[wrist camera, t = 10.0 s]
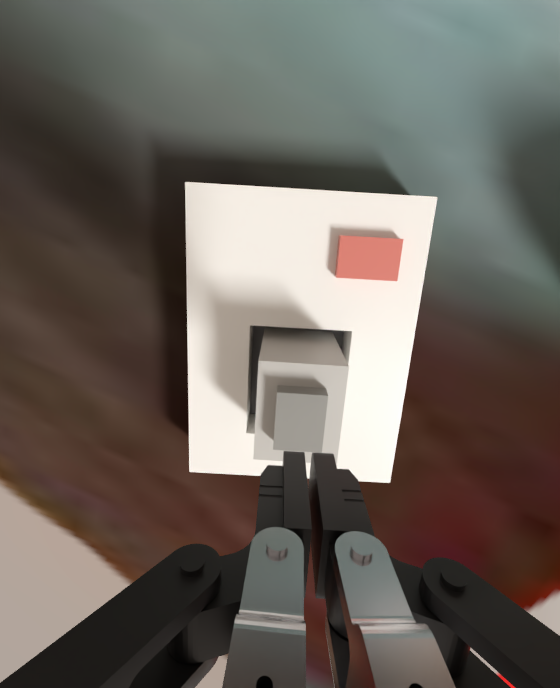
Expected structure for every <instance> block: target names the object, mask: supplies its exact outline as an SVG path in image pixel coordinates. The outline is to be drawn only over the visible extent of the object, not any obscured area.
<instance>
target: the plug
mask: <svg viewBox="0 0 560 688" xmlns="http://www.w3.org/2000/svg"><path fill="white" fill-rule="evenodd" d="M348 371H349V365H348V363H347V361H346V359H345V357H344V355H343V353H342V351H341V349H340V347H339V345H338V343H337V341H336V339H335V337H334V334H333V332H329V331H314V330H299V329H284V328H269V327H265V329H264V335H263V340H262V345H261V350H260V355H259V360H258V379H257V398H256V417H255V436H254V455H253V459H256V460H272V461H283V452H284V451H295V452H304V453H305V463H311V456H312V452H314V453H332V454H334V457H335V462H336V465H337V458H338V450H339V442H340V435H341V427H342V419H343V411H344V403H345V395H346V387H347V379H348Z"/></svg>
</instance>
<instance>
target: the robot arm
mask: <svg viewBox="0 0 560 688" xmlns="http://www.w3.org/2000/svg"><path fill="white" fill-rule="evenodd" d="M310 542H311V548H312V560H313V571H314V582H315V594H316V598H324V599H326V607H327V614H326V622H325V630H326V636H327V643H328V649H329V655H330V662H331V668H332V674H333V680H334V687H335V688H511V687H509V686H508V685H507V684H506V683H505V682H504V681H503V680H502V679H501V678H500V677H498V676H497V675H496V674H495V673H494V672H493V671H492V670H490V668H488V667H487V666H486V665H485V664H484V663H483V662H482V661H481V660H480V659H479V658H477V657H476V656H475V655H474V654H473V653H472V652H471V651H470V647H471V648H472V649H473V650H474V651H476V652H477V653H478V654H479V655H480V656H481V657H482V658H483V659H484V660H486V661H487V662H488V663H489V664H490V665H491V666H492V667H493V668H495V669H496V670H497V671H498V672H499V673H500V674H501V675H502V676H503V677H504V678H506V679H507V680H508V681H509V682H510V683H511V684H512V685H513V686H514V687H516V688H560V636H559V635H558V634H556V633H555V632H553V631H552V630H551V629H549V628H548V627H547V626H545V625H544V624H543V623H541V622H540V621H539V620H537V619H536V618H535V617H533V616H532V615H530V614H529V613H528V612H526V611H525V610H524V609H522V608H521V607H520V606H518V605H517V604H516V603H514V602H513V601H512V600H510V599H509V598H507V597H506V596H505V595H503V594H502V593H501V592H499V591H498V590H497V589H495V588H494V587H493V586H491V585H490V584H488V583H487V582H486V581H484V580H483V579H482V578H480V577H479V576H478V575H476V574H475V573H474V572H472V571H471V570H470V569H468V568H467V567H465V566H464V565H462V564H460V563H458V562H456V561H454V560H451V559H447V558H433V559H430V560H428V561H427V562H426V563H425V564H424V566H423V569H421V568H418V567H415V566H412V565H409V564H406V563H403V562H401V561H398V560H396V559H394V558H393V557H391V556H390V555H389V554H388V552H387V550H386V548H385V546H384V545H383V544H382V543H381V542H380V541H379V540H378V539H377V538H375V536H374V532H373V529H372V526H371V522H370V519H369V516H368V512H367V509H366V506H365V502H364V499H363V496H362V493H361V489H360V486H359V482H358V479H357V478H356V477H355V476H354V475H353V474H352V472H351V471H350V470H349V469H337V466H336V462H335V457H334V454H332V453H314V452H312V456H311V466H310V477H309V488H308V484H307V473H306V463H305V453H304V452H295V451H284V452H283V465H282V466H277V465H268V466H267V467H266V468H265V469H264V471H263V472H262V473H261V478H260V489H259V500H258V511H257V521H256V531H255V535H254V538H253V540H252V541H251V542H250V544H249V545H248V546H246V547H245V548H244V549H242V550H240V551H238V552H236V553H233V554H229V555H225V556H219V554H218V553H217V552H216V551H215V550H214V549H213V548H211V547H209V546H207V545H203V544H190V545H186V546H183V547H181V548H179V549H177V550H176V551H174V552H173V553H172V554H170V555H169V556H168V557H166V558H165V559H164V560H162V561H161V562H160V563H158V564H157V565H156V566H154V567H153V568H152V569H150V570H149V571H148V572H146V573H145V574H144V575H142V576H141V577H140V578H139V579H137V580H136V581H135V582H133V583H132V584H131V585H129V586H128V587H127V588H125V589H124V590H123V591H121V592H120V593H119V594H117V595H116V596H115V597H114V598H112V599H111V600H109V601H108V602H107V603H105V604H104V605H103V606H101V607H100V608H99V609H97V610H96V611H95V612H93V613H92V614H91V615H90V616H88V617H87V618H86V619H84V620H83V621H82V622H80V623H79V624H78V625H76V626H75V627H74V628H72V629H71V630H70V631H68V632H67V633H66V634H64V635H63V636H62V637H61V638H59V639H58V640H56V641H55V642H54V643H52V644H51V645H50V646H49V647H47V648H46V649H44V650H43V651H42V652H41V653H39V654H38V655H37V656H35V657H34V658H33V659H31V660H30V661H29V662H27V663H26V664H25V665H23V666H22V667H21V668H19V669H18V670H17V671H16V672H14V673H13V674H11V675H10V676H9V677H7V678H6V679H5V680H3V681H2V682H1V683H0V688H195V687H196V686H197V684H198V683H199V682H200V681H201V680H202V678H204V676H205V675H206V674H207V673H208V672H209V671H210V669H211V668H212V667H213V665H214V664H215V663H216V661H217V659H218V657H219V656H222V655H225V654H228V653H229V654H228V659H227V665H226V670H225V677H224V681H223V687H222V688H306V626H305V621H304V598H305V592H306V582H307V572H308V562H309V552H310Z"/></svg>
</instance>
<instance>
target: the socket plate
mask: <svg viewBox="0 0 560 688" xmlns="http://www.w3.org/2000/svg"><path fill="white" fill-rule="evenodd" d="M436 203H437V197H428V196H411V195H394V194H378V193H361V192H345V191H328V190H312V189H295V188H278V187H262V186H245V185H229V184H212V183H196V182H185V209H186V276H187V343H188V410H189V472H200V473H219V474H237V475H256V476H261V473H262V472H263V471H264V469H265V468H266V467H267V466H268V465H277V466H282V465H283V461H272V460H256V459H253V455H254V436H255V417H256V398H257V379H258V360H259V355H260V350H261V345H262V340H263V335H264V329H265V327H269V328H284V329H299V330H314V331H329V332H333V334H334V337H335V339H336V341H337V343H338V345H339V347H340V349H341V351H342V353H343V355H344V357H345V359H346V361H347V363H348V365H349V371H348V379H347V387H346V395H345V403H344V411H343V419H342V427H341V435H340V442H339V450H338V458H337V465H336V466H337V469H349V470H350V471H351V472H352V474H353V475H354V476H355V477H356V478H357V479H358V481H366V482H385V483H390V479H391V473H392V467H393V461H394V455H395V449H396V443H397V437H398V431H399V425H400V419H401V413H402V407H403V401H404V395H405V389H406V383H407V377H408V371H409V365H410V359H411V353H412V347H413V341H414V335H415V329H416V323H417V317H418V311H419V305H420V299H421V293H422V287H423V281H424V275H425V269H426V263H427V257H428V251H429V245H430V239H431V233H432V227H433V221H434V215H435V209H436ZM310 466H311V463H306V473H307V478H309V477H310Z"/></svg>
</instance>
